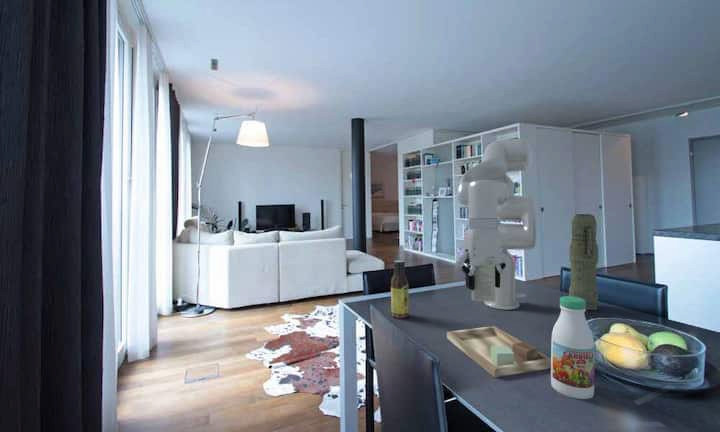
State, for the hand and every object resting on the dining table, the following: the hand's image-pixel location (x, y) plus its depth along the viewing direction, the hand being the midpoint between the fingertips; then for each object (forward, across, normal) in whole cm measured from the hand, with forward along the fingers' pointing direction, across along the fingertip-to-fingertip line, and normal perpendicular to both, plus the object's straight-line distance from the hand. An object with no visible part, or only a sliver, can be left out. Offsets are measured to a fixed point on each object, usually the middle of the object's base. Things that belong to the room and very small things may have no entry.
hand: (483, 287), depth 90 cm
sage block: (+16, +3, +12) cm, 20 cm away
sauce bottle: (+17, +14, -29) cm, 36 cm away
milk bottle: (+17, -5, +24) cm, 30 cm away
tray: (+17, 0, +5) cm, 17 cm away
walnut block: (+16, -4, +12) cm, 20 cm away
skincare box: (+4, 0, 0) cm, 4 cm away
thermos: (+17, -55, -18) cm, 60 cm away
